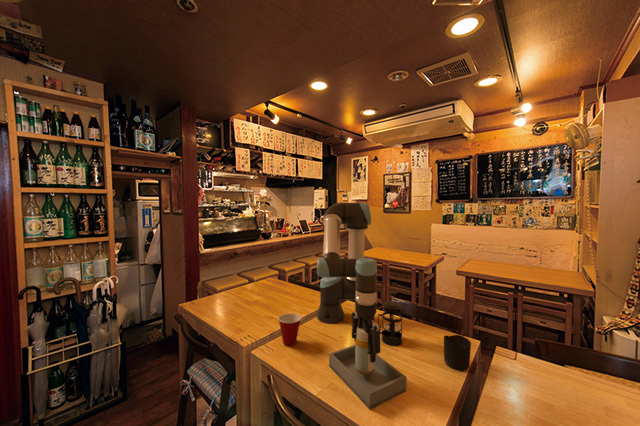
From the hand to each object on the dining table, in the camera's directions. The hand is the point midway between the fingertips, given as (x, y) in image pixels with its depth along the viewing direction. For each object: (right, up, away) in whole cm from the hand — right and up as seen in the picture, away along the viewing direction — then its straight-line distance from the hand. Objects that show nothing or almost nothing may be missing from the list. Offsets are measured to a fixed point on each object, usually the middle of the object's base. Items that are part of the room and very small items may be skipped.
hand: (365, 364), depth 92 cm
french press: (+17, -4, +26) cm, 31 cm away
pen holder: (+38, -5, +8) cm, 39 cm away
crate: (0, -5, 0) cm, 5 cm away
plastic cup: (-30, -4, +23) cm, 38 cm away
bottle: (0, -2, 0) cm, 2 cm away
